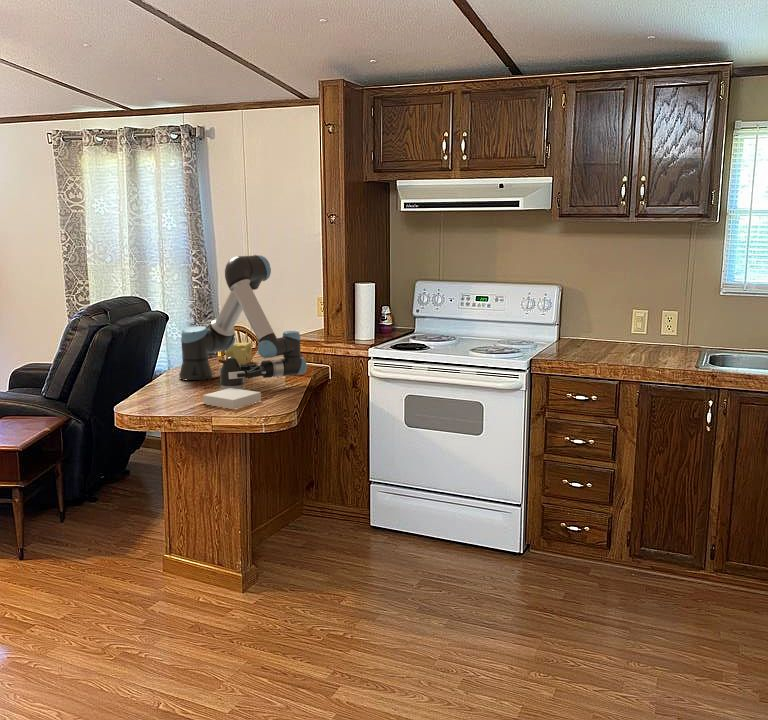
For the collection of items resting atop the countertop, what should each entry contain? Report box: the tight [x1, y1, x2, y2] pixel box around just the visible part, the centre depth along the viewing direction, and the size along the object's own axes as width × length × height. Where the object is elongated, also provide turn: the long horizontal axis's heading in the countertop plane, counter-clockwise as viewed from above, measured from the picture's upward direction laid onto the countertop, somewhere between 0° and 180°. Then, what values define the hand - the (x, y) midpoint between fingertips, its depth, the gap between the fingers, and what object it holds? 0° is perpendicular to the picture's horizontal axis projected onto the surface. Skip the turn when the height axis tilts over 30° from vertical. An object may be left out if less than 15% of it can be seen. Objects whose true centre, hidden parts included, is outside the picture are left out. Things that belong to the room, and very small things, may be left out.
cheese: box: [225, 342, 253, 365], centre depth 408 cm, size 10×11×10 cm
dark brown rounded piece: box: [218, 357, 245, 390], centre depth 340 cm, size 10×10×15 cm
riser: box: [202, 388, 262, 410], centre depth 320 cm, size 16×16×4 cm
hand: (223, 373), depth 339 cm, fingers open, 13 cm apart
